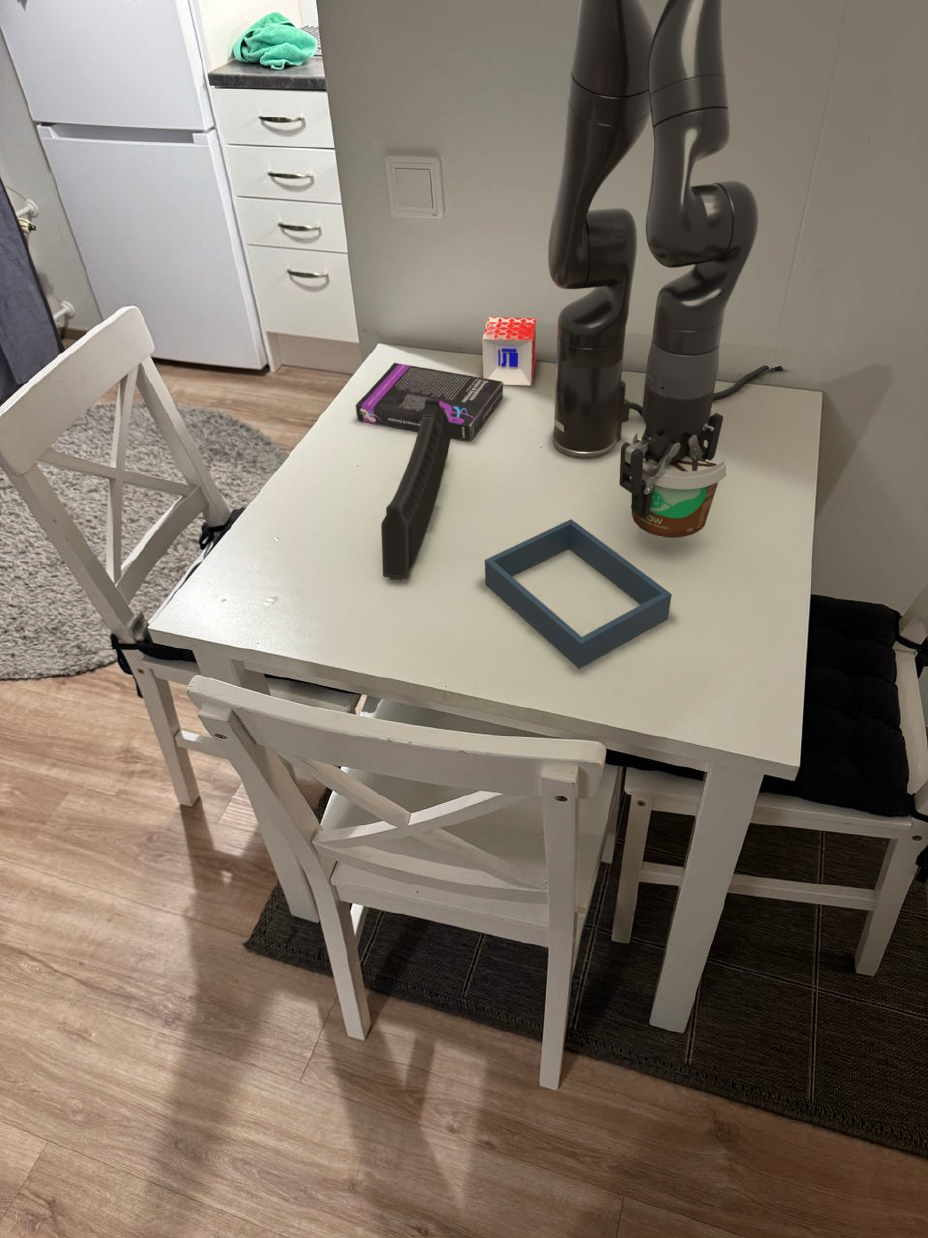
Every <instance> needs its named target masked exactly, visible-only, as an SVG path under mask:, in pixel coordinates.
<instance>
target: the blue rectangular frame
mask: <svg viewBox="0 0 928 1238" xmlns="http://www.w3.org/2000/svg"><path fill="white" fill-rule="evenodd" d="M567 550H570V551H572V552H573V553H574V554H575V555H576V556H577V557H579V558H580V559H582V560H583V561H584V562H585V563H586V564H588V565H589V566H590V567H592V568H593V569H594V570H595V571H597V572H598V573H599V574H601V575H602V576H603V577H604V578H606V579H607V580H608V581H610V582H611V583H613V584H614V585H615V586H616V587H617V588H618V589H620V590H621V591H622V592H624V593H625V594H627V595H628V596H629V597H630V598H632V599H633V600H634V601H635V602H636V603H638V604H639V605H638V606H636V607H634V608H632V609H631V610H628V611H626V612H625V613H623V614H622V615H619V616H618V617H616V618H614V619H612V620H610V621H608V622H607V623H604V624H603V625H601V626H599V627H597V628H595V629H594V630H592V631H590V632H588V633H586V634H584V635H580V634H579V633H578V632H577V631H576V630H574V629H573V628H572V627H571V626H570V625H569V624H567V622H565V621H564V620H563V619H562V618H561V617H560V616H558V615H557V614H556V613H555V612H554V611H553V610H551V608H549V607H548V606H547V605H545V604H544V602H542V600H540V599H539V598H537V597H536V596H535V595H534V594H533V593H532V592H530V590H528V589H527V588H526V587H525V586H524V585H522V583H520V582H519V581H518V580H517V579H515V578H514V576H516V575H518V574H521V573H522V572H524V571H526V570H528V569H530V568H532V567H535V566H537V565H538V564H540V563H542V562H544V561H547V560H549V559H551V558H554V557H555V556H557V555H559V554H562V553H563V552H565V551H567ZM484 581H485V582H484V583H485V586H486V587H487V588H489V590H490V591H492V592H493V593H494V594H495V595H496V596H497V597H498V598H499V599H501V601H503V602H504V603H505V604H506V605H507V606H509V608H511V609H512V610H513V611H514V612H515V613H516V614H517V615H519V617H521V618H522V620H523V621H525V622H526V623H527V624H529V625H530V627H532V628H533V629H534V630H535V631H536V632H537V633H538V634H540V635H541V636H542V637H543V638H544V639H545V640H546V641H547V642H549V644H551V645H552V646H553V647H554V648H555V649H556V650H557V651H559V652H560V653H561V654H562V655H563V656H564V657H565V658H567V660H569V662H571V663H572V664H573V665H574V666H575V667H576V668H577V669H582V668H583V667H586V666H587V665H589V664H590V663H593V662H594V661H596V660H598V659H599V658H601V657H604V656H605V655H607V654H608V653H610V652H612V651H614V650H615V649H617V648H619V647H621V646H623V645H624V644H626V643H628V642H630V641H632V640H634V639H635V638H637V637H638V636H640V635H642V634H644V633H647V631H649V630H652V629H653V628H654V627H656V626H658V625H661V624H662V623H664V622H665V621H668V620H669V614H670V609H671V601H672V596H673V595H672V593H671V592H670V591H668V590H667V589H666V588H664V587H663V586H662V585H660V584H659V583H658V582H656V581H655V580H653V578H651V577H650V576H648V575H647V574H645V573H644V572H643V571H642V570H640V569H639V568H638V567H636V566H635V565H634V564H632V563H631V562H629V560H628V559H626V558H624V557H623V556H622V555H620V554H619V553H618V552H616V551H615V550H614V549H612V548H611V547H609V546H608V545H607V544H605V543H604V542H603V541H602V540H600V539H599V538H597V537H596V536H595V535H593V534H592V533H591V532H589V531H588V530H587V529H585V528H584V527H583V526H582V525H580V524H578V523H577V522H575V520H573V519H571V518H570V519H568V520H566V521H564V522H561V523H560V524H557V525H555V526H553V527H551V528H549V529H547V530H545V531H543V532H541V533H539V534H536V535H534V536H532V537H530V538H528V539H526V540H523V541H522V542H520V543H518V544H516V545H514V546H511V547H509V548H507V549H505V550H503V551H501V552H498V553H496V554H494V555H492V556H490V557H488V558H485V559H484Z"/></svg>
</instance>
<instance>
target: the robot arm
mask: <svg viewBox="0 0 928 1238" xmlns="http://www.w3.org/2000/svg"><path fill="white" fill-rule="evenodd" d="M578 4H579V5H578V13H577V21H576V29H575V34H574V35H575V36H574V44H573V50H572V56H571V57H572V58H571V66H570V72H569V73H570V74H569V81H568V91H567V102H566V118H565V129H564V130H565V131H564V143H563V153H562V154H563V155H562V162H561V169H560V176H559V181H558V187H557V192H556V197H555V202H554V208H553V214H552V218H551V225H550V229H549V237H548V246H547V247H548V248H547V263H548V271H549V275H550V278H551V281H552V282H553V283H554V285H555V286H556V287H558V288H560V289H564V290H582V289H592V291H590V292H588V293H587V294H585V295H584V296H582V297H580V298H578V299H576V300H575V301H573V302H571V303H569V304H567V305H566V306H564V307H563V309H562V310H561V311H560V313H559V315H558V318H557V330H556V331H557V332H556V333H557V334H556V359H555V361H556V362H555V363H556V365H555V386H554V387H555V389H554V391H555V392H554V415H553V416H554V418H553V421H554V422H553V433H552V444H553V446H554V447H555V449H556V450H557V451H558V452H560V453H561V454H563V455H566V456H569V457H572V458H578V459H594V458H599V457H603V456H605V455H607V454H609V453H610V452H612V451H613V450H614V449H615V447H616V445H617V443H618V442H620V441H621V439H622V430H623V429H622V428H623V423H625V422H626V423H627V422H628V421H630V420H629V419H630V410H634V411H636V412H637V413H638V414H639V415H640V416H641V418H643V421H644V424H645V428H644V431H643V434H642V436H641V438H640V441H639V442H637V443H635V444H633V445H631V444H630V443H631V442H628V441H625V442H623V444H622V445H621V446H620V455H619V456H620V460H619V486H620V487H621V488H623V489H625V490H626V491H627V492H628V493H630V494H631V504H630V509H631V512H632V511H634V513H636V514H637V515H638V516H640V517H641V518H646V517H648V516H649V514H650V506H651V498H652V492H651V491H652V489H653V487H654V485H655V483H656V481H657V478H659V477H662V476H663V475H664V473H665V471H666V469H667V468H668V466H669V465H670V464H671V463H673V462H674V461H676V460H680V459H683V458H685V456H686V455H687V456H688V457H690V458H691V459H693V460H694V461H696V460H697V459H701V460H704V461H708V462H710V461H712V460H714V458H715V456H716V452H717V448H718V444H719V439H720V435H721V431H722V425H723V421H724V415H722V414H720V413H719V412H717V411H715V410H713V409H712V406H713V400H717V399H721V398H724V397H727V396H729V395H732V394H734V393H735V392H737V391H738V390H739V389H740V388H741V387H742V386H744V385H745V383H746V382H749V381H750V380H752V379H754V378H755V377H757V376H759V375H761V374H763V373H764V372H766V371H768V370H775V371H778V372H782V371H784V368H783V366H782V365H781V366H778V367H775V368H771V369H769V367H768V366H766V364H764V365H765V366H764V365H762V366H760V367H757V368H756V369H755V370H753V371H751V372H749V373H747V374H746V375H744V376H743V377H741V378H740V379H739V380H738V381H737V382H736V383H734V384H733V385H732V386H730V387H728V388H727V389H724V390H721V391H718V392H715V389H716V384H717V377H718V370H719V365H720V344H721V337H722V331H723V330H722V329H723V326H724V320H725V319H724V318H725V312H726V308H727V305H728V303H729V301H730V299H731V296H732V294H733V292H734V290H735V288H736V285H737V283H738V281H739V278H740V277H741V274H742V272H743V270H744V267H745V265H746V264H747V261H748V259H749V257H750V254H751V252H752V249H753V247H754V244H755V241H756V238H757V233H758V228H759V218H760V217H759V206H758V202H757V200H756V196H755V195H754V193H753V191H752V189H751V188H750V187H749V186H748V185H747V184H746V183H744V182H741V181H739V180H723V181H717V182H711V183H710V182H709V183H704V184H698V185H691V180H692V179H691V177H692V174H693V171H694V167H695V164H696V162H699V161H701V160H703V159H706V158H709V157H711V156H713V155H716V154H718V153H719V152H721V151H722V150H723V149H724V148H725V147H726V146H727V145H728V144H729V141H730V138H731V117H730V110H729V109H730V107H729V98H728V85H727V75H726V65H725V55H724V42H723V41H724V40H723V39H724V38H723V0H666V2H665V5H664V7H663V9H662V12H661V14H660V17H659V20H658V22H657V26H656V29H655V30H654V28H653V26H652V23H651V21H650V18H649V17H648V14H647V11H646V10H645V7H644V5H643V4H642V1H641V0H579V2H578ZM650 117H651V126H652V131H653V132H652V134H653V145H654V146H653V160H652V171H651V181H650V188H649V191H650V192H649V197H648V202H647V210H646V216H645V217H646V219H645V237H646V242H647V246H648V249H649V252H650V253H651V255H652V256H653V258H654V259H655V260H656V261H657V263H659V264H660V265H662V266H663V267H665V268H669V269H676V268H683V267H689V266H692V268H691V269H690V270H689V271H688V272H686V273H685V274H683V275H681V276H679V277H677V278H675V279H673V280H671V281H669V282H668V283H666V284H665V285H663V286H662V288H661V289H660V291H659V292H658V294H657V298H656V302H655V303H656V304H655V310H654V319H653V328H652V330H653V331H652V336H651V337H652V338H651V343H650V348H649V351H648V355H647V362H646V368H645V369H646V371H645V378H644V379H645V380H644V387H643V396H642V398H643V399H642V405H641V404H638V403H635V402H631V401H629V400H628V399H626V398H625V397H626V387H627V384H626V382H625V381H624V380H623V379H622V375H623V364H624V352H625V340H626V329H627V323H628V320H629V315H630V314H629V313H630V305H631V304H630V303H631V295H632V288H633V282H634V276H635V270H636V269H635V268H636V261H637V255H638V254H637V253H638V232H637V225H636V221H635V218H634V216H633V214H632V213H631V212H630V211H629V210H628V209H626V208H621V207H620V208H619V207H615V208H603V209H592V210H590V207H591V205H592V202H593V200H594V198H595V196H596V195H597V193H598V191H599V189H600V188H601V186H602V185H603V184H604V182H605V181H606V180H607V179H608V177H609V176H610V175H611V174H612V173H613V172H614V170H615V169H616V168H617V167H618V166H619V165H620V163H621V162H622V161H623V160H624V159H625V157H626V156H627V155H628V154H629V152H630V151H631V150H632V148H633V147H634V146H635V145H636V143H637V142H638V140H639V139H640V137H641V136H642V134H643V132H644V131H645V128H646V127H647V125H648V122H649V120H650ZM705 441H706V442H707V445H706V446H705ZM649 457H651V459H652V460H654V461H655V462H657V463H659V464H658V466H657V467H656V468H654V467H653V466H651V465H649V464H648V463H649ZM645 461H646V462H648V463H646V462H645ZM643 470H645V471H647V472H648V473H649V476H648V478H647V480H646V482H645V481H644V480H642V473H643Z"/></svg>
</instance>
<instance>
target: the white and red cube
mask: <svg viewBox="0 0 928 1238" xmlns="http://www.w3.org/2000/svg"><path fill="white" fill-rule="evenodd" d="M536 342H537V318H536V317H501V316H500V317H499V316H488V317H487V321H486V325H485V329H484V332H483V335H482V339H481V348H482V378H486V379H491V380H496V381H502V382H503V386H504V385H505V386H509V385H511V386H532V385H533V379H534V371H535V368H536V350H537V349H536V344H537V343H536Z"/></svg>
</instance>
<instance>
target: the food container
mask: <svg viewBox="0 0 928 1238" xmlns="http://www.w3.org/2000/svg"><path fill="white" fill-rule="evenodd" d="M638 435H639V433H638V432H636V433H635V434H634V436H633V437H632V439H631V441H630V442H629V443H630V444H631V445H633V444H635V443H637V442H639V441H641V439H639V438H638V437H639V436H638ZM725 461H726V459H725V458H724V459H723V460H722V461H720V462H718V463H715V462H712V461H711V462H710V461H708V460H705V461H704V460H701V459H697V460H696V461H694V460H693V459H691V458H690V457H688V456H687V455H686V456H685V458H683V459H680V460H676V461H674V462H673V463H671V464H670V465H669V466H668V468H667V469H666V471H665V473H664V475H663V476H662V477H659V478H657V481H656V483H655V485H654V487H653V489H652V491H651V492H652V498H651V506H650V514H649V516H648V517H646V518H641V517H640V516H638V515H637V514H636V513H634V511H632V510H631V516H632V519H633V522H634V523H635V525H637V526H638V528H639V529H641V530H642V531H644V532H646V533H648V534H651V535H652V536H656V537H660V538H667V539H678V538H685V537H689V536H692V535H695V534H696V533H698V532H700V531H702V530H703V528H704V527H705V526H706V522H707V519H708V517H709V513H710V511H711V507H712V504H713V501H714V498H715V494H716V492H717V488H718V485H719V482H720V481H722V480H724V478H726V476H727V464H726V463H725ZM645 462H646V461H645ZM646 463H648V462H646ZM648 464H649V465H651V466H653V467H654V468H656V467H657V466H658V464H659V463H657V462H655V461H654V460H652V459H651V457H649V463H648ZM648 476H649V473H648V472H647V471H645V470H643V473H642V480H644V481H645V482H646V480H647V478H648Z"/></svg>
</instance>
